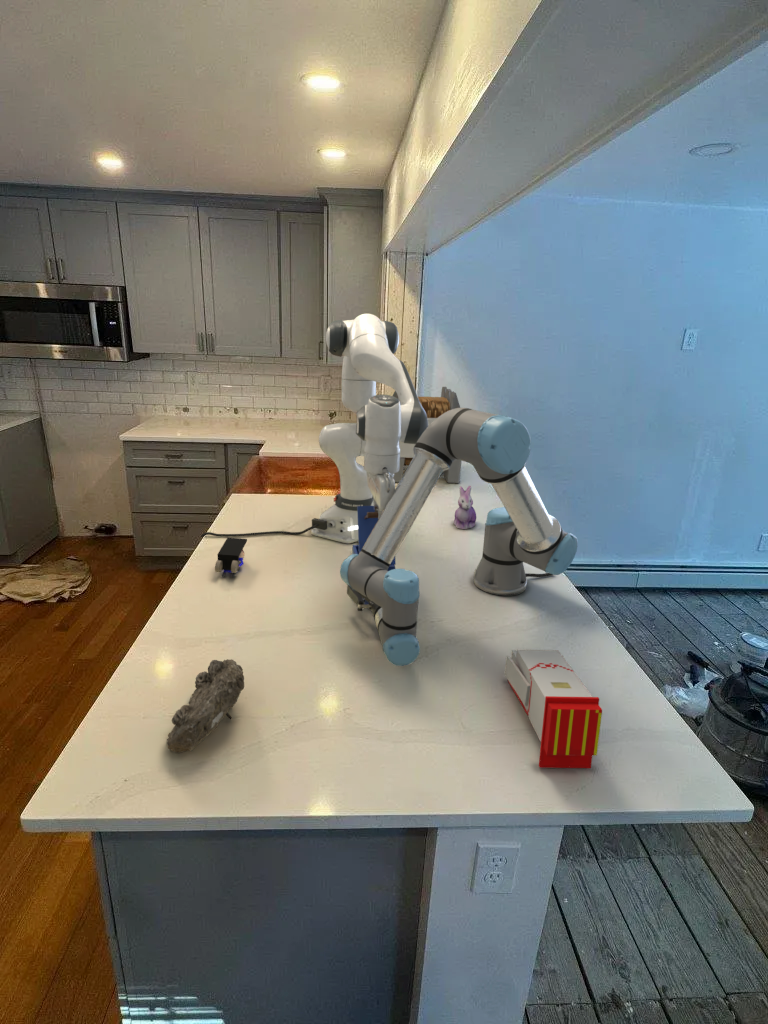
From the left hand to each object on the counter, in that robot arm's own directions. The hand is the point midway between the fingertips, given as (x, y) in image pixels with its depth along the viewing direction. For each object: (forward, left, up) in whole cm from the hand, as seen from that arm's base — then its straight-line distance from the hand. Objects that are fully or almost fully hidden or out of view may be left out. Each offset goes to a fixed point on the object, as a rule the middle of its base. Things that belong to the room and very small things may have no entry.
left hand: (379, 515), depth 144 cm
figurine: (+14, +67, -25) cm, 73 cm away
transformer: (-17, +130, -25) cm, 134 cm away
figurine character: (-45, +4, -25) cm, 52 cm away
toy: (+44, -33, -25) cm, 60 cm away
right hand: (-1, +3, -18) cm, 18 cm away
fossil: (-16, -54, -25) cm, 61 cm away
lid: (-2, +4, -7) cm, 8 cm away
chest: (-3, +7, -25) cm, 26 cm away
